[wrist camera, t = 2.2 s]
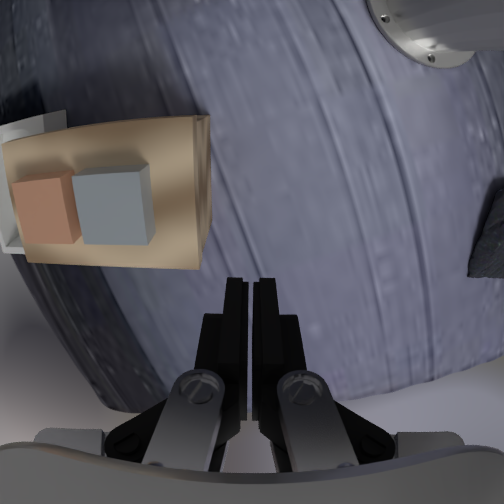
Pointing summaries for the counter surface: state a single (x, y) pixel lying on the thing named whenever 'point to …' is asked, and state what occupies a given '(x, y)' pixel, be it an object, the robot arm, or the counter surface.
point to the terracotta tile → (47, 208)
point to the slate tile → (115, 205)
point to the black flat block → (490, 244)
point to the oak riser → (129, 153)
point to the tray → (3, 219)
